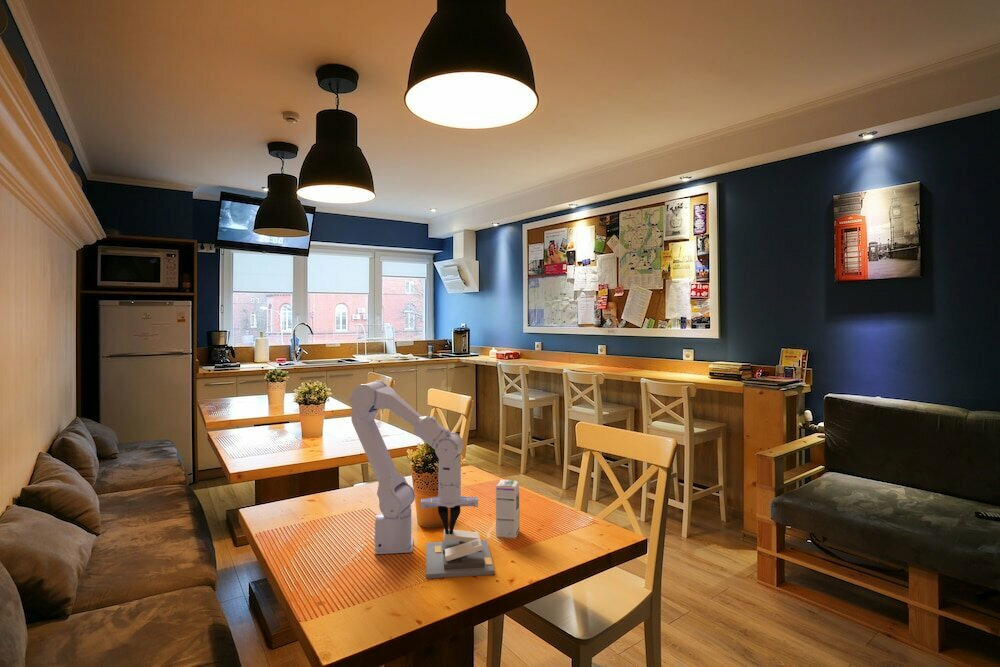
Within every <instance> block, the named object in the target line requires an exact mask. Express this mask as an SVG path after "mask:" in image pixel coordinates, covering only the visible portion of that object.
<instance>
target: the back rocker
mask: <svg viewBox="0 0 1000 667" xmlns="http://www.w3.org/2000/svg"><path fill="white" fill-rule="evenodd" d="M448 532H449V528H448ZM479 532H480V531H471V530H462V529H453V534H450V532H449V534H446V533H445V528H444V529H443V540H452V541H462V542H470V541H473V540H476V539H479V538H480V533H479ZM480 539H481V538H480Z"/></svg>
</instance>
